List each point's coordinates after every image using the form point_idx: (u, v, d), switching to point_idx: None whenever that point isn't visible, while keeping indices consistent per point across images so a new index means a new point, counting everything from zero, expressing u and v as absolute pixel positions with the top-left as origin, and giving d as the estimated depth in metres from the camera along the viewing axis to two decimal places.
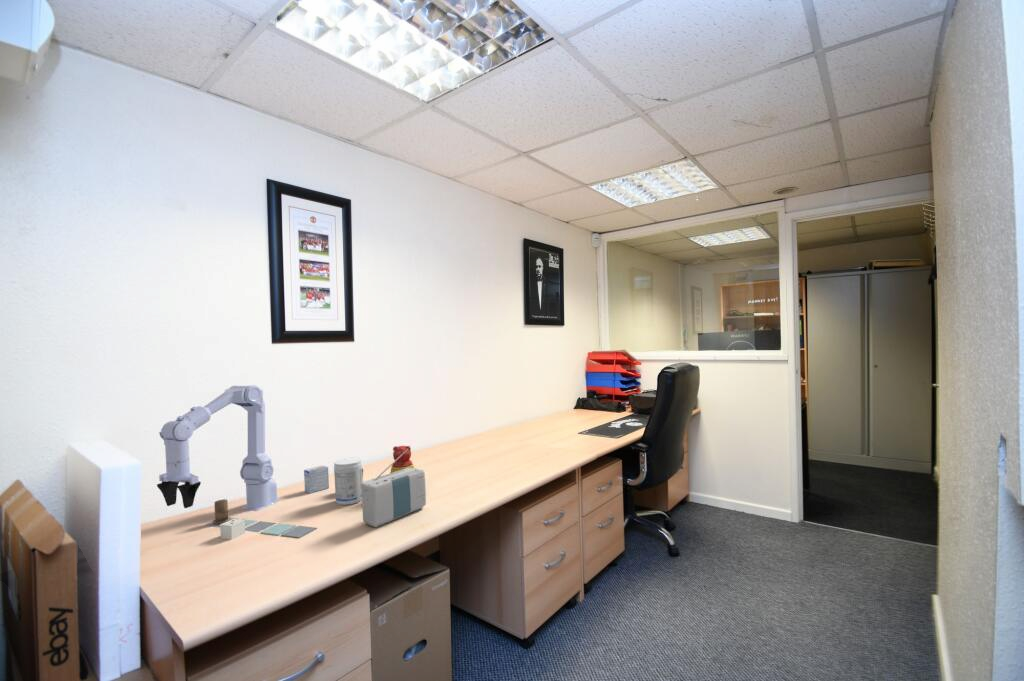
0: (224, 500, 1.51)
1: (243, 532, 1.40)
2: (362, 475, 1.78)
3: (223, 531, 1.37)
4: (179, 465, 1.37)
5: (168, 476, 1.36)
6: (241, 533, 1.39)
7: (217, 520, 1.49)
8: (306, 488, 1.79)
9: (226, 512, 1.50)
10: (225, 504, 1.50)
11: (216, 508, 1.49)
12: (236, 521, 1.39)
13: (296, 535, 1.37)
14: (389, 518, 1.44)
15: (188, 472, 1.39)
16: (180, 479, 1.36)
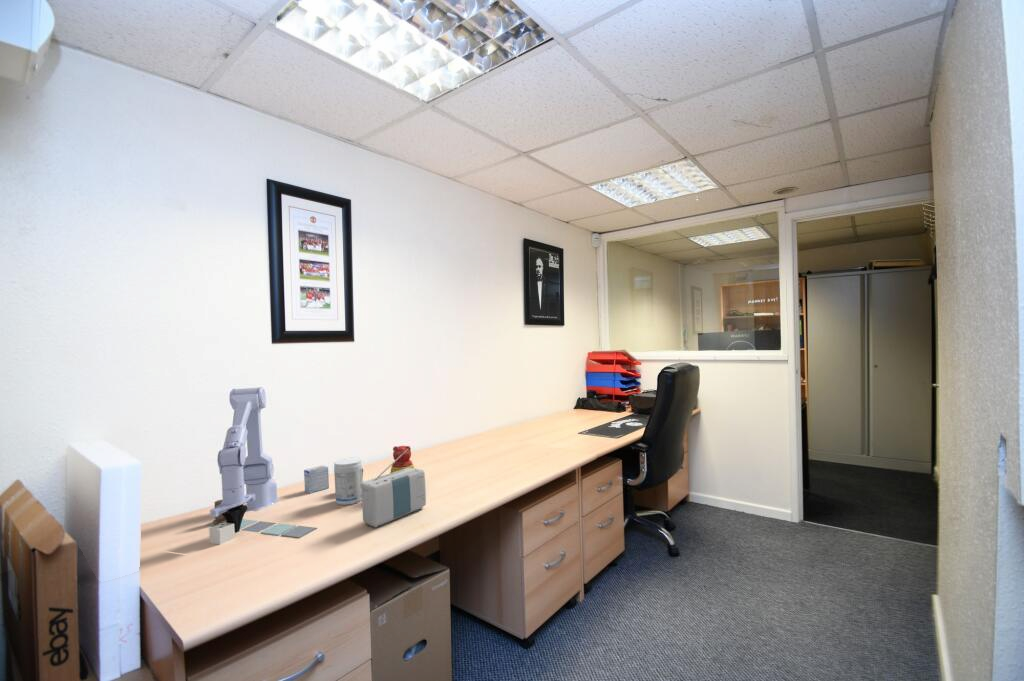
0: None
1: (233, 536, 1.37)
2: (362, 475, 1.78)
3: (212, 535, 1.34)
4: (222, 492, 1.37)
5: None
6: (230, 537, 1.36)
7: (217, 520, 1.49)
8: (306, 488, 1.79)
9: None
10: None
11: None
12: (226, 525, 1.36)
13: (296, 535, 1.37)
14: (389, 518, 1.44)
15: (230, 502, 1.37)
16: None
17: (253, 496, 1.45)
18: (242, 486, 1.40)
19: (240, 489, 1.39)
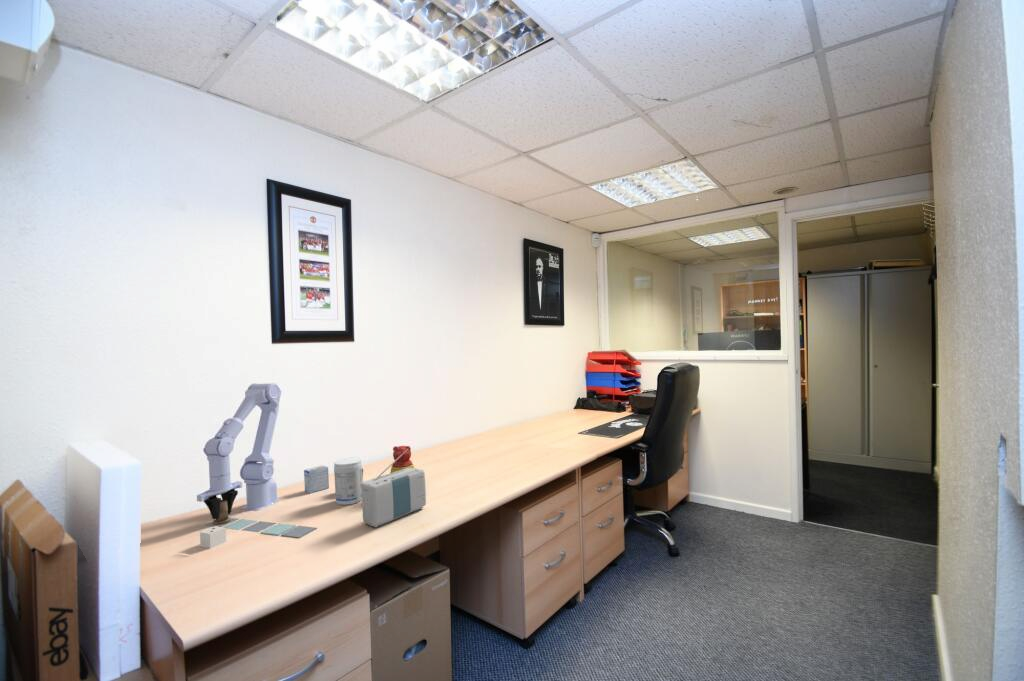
0: (224, 500, 1.51)
1: (224, 540, 1.34)
2: (362, 475, 1.78)
3: (203, 539, 1.32)
4: None
5: None
6: (221, 542, 1.33)
7: (217, 520, 1.49)
8: (306, 488, 1.79)
9: (226, 512, 1.50)
10: (225, 504, 1.50)
11: None
12: (217, 529, 1.33)
13: (296, 535, 1.37)
14: (389, 518, 1.44)
15: (216, 488, 1.48)
16: None
17: (240, 484, 1.56)
18: (228, 474, 1.50)
19: (225, 477, 1.50)
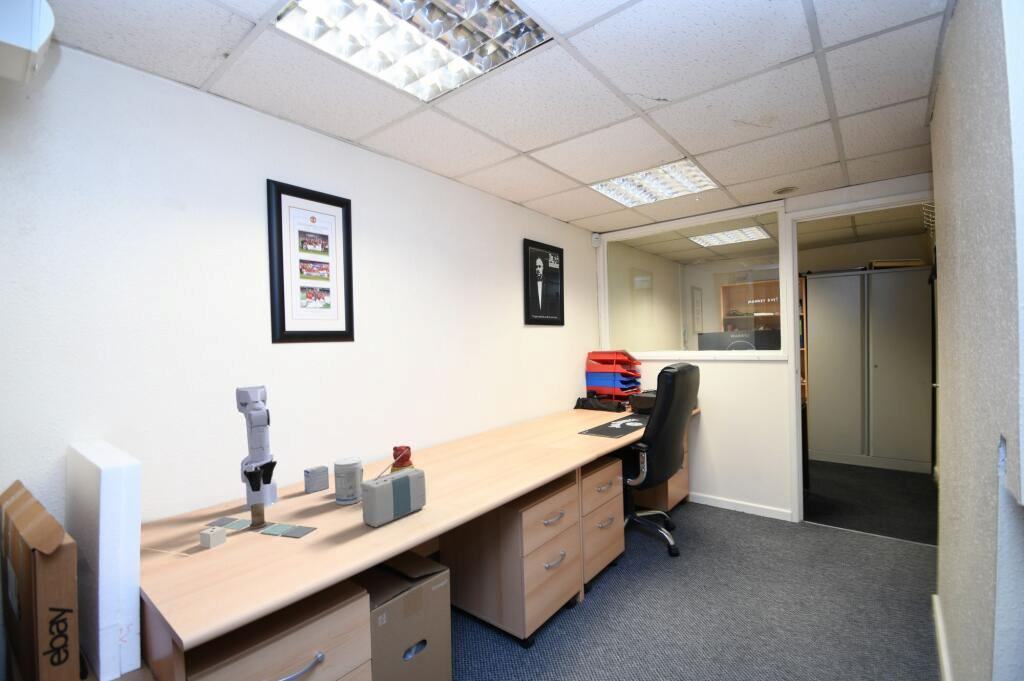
0: (260, 503, 1.46)
1: (224, 540, 1.34)
2: (362, 475, 1.78)
3: (203, 539, 1.32)
4: (252, 451, 1.50)
5: None
6: (221, 541, 1.33)
7: (255, 524, 1.44)
8: (306, 488, 1.79)
9: (263, 515, 1.46)
10: (263, 507, 1.45)
11: (254, 512, 1.44)
12: (217, 529, 1.33)
13: (296, 535, 1.37)
14: (389, 518, 1.44)
15: (261, 459, 1.50)
16: None
17: (272, 456, 1.59)
18: (269, 445, 1.54)
19: (268, 447, 1.53)
